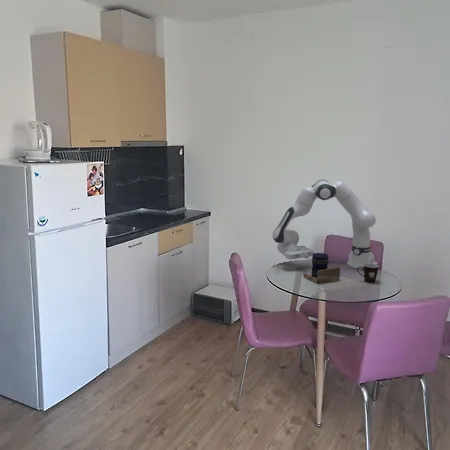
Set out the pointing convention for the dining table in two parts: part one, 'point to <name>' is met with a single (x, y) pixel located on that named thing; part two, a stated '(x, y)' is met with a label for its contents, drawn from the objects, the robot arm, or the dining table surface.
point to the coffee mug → (369, 272)
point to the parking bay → (325, 275)
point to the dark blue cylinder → (319, 263)
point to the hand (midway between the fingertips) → (306, 256)
